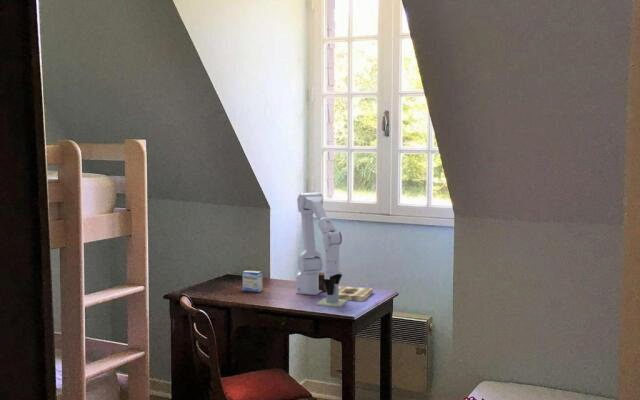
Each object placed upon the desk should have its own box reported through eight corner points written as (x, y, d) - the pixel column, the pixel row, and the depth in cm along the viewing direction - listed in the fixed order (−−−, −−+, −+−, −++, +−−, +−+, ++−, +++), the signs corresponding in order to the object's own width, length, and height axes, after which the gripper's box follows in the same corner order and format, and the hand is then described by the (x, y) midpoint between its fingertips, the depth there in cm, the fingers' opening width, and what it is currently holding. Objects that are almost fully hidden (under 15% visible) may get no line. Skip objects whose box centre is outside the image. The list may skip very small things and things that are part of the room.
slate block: (326, 301, 291) (326, 285, 291) (329, 299, 295) (329, 283, 294) (335, 302, 290) (335, 285, 289) (338, 300, 294) (338, 283, 293)
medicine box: (242, 291, 315) (242, 271, 314) (246, 288, 320) (246, 269, 319) (258, 292, 313) (258, 272, 312) (262, 290, 317) (262, 270, 316)
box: (329, 288, 319) (329, 272, 318) (323, 291, 314) (323, 275, 313) (317, 287, 322) (317, 271, 321) (311, 290, 317) (311, 274, 316)
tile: (316, 305, 289) (316, 303, 289) (324, 299, 299) (324, 297, 299) (340, 307, 286) (340, 305, 286) (347, 301, 296) (347, 299, 296)
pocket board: (326, 298, 301) (326, 293, 301) (337, 290, 316) (337, 286, 316) (362, 301, 296) (362, 296, 295) (372, 293, 311) (372, 288, 310)
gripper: (336, 264, 283) (336, 297, 284) (346, 258, 296) (346, 290, 298) (319, 263, 285) (319, 296, 286) (330, 257, 299) (330, 288, 300)
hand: (332, 293), depth 292 cm, fingers open, 5 cm apart
